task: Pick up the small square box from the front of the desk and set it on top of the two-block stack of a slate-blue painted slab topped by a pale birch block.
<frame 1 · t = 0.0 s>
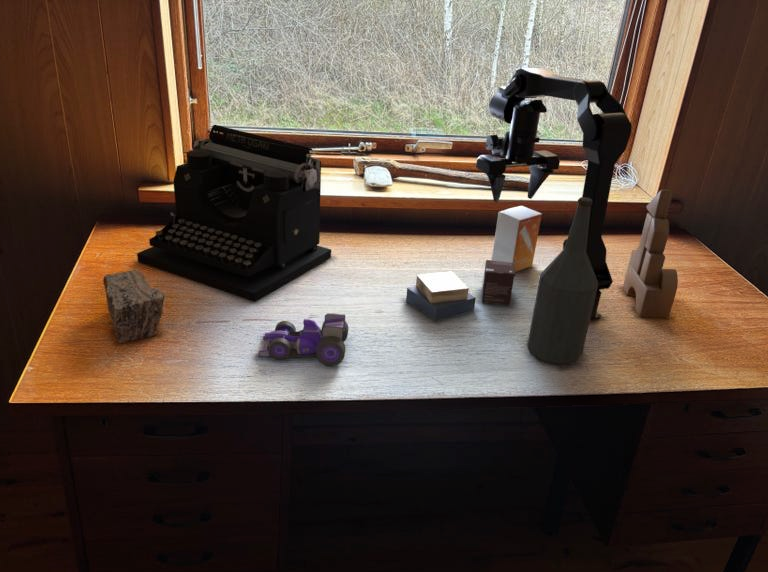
hand: (512, 200, 166), 15 cm above the table, tool pointing down, fingers open, 9 cm apart
toy race car: (304, 351, 132), on the table
stack top: (441, 292, 150), point 3 cm above the table, touching stack base
box: (495, 299, 157), on the table
wooden toy: (644, 301, 161), on the table
stone block: (137, 325, 135), on the table
bottle: (553, 353, 139), on the table
small box: (511, 266, 172), on the table
stack base: (439, 305, 151), on the table, touching stack top
typewriter: (237, 260, 162), on the table
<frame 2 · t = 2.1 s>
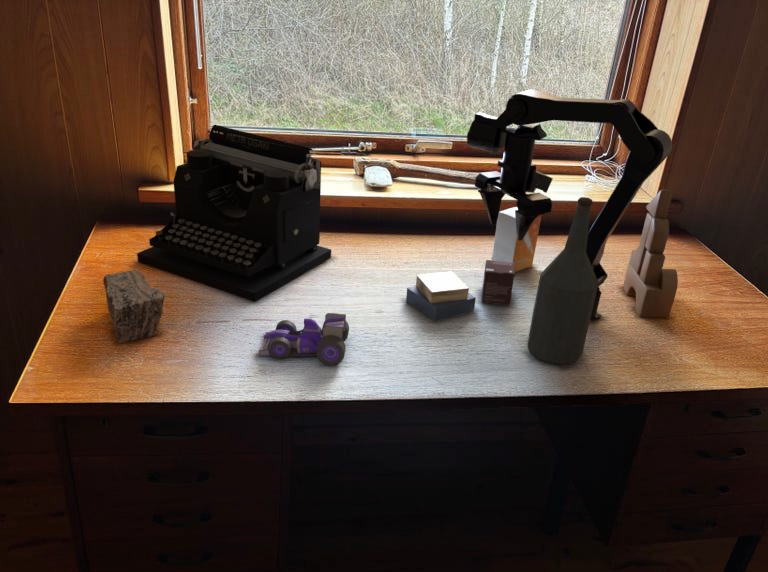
hand: (506, 232, 154), 13 cm above the table, tool pointing down, fingers open, 9 cm apart
nothing on the table moved.
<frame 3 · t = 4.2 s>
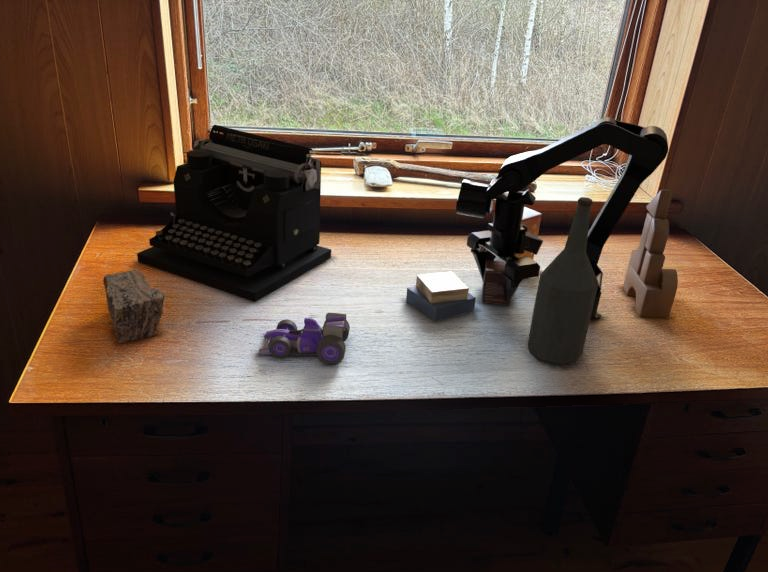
hand: (496, 291, 156), 2 cm above the table, tool pointing down, fingers closed on box, 8 cm apart
box: (495, 299, 157), on the table, touching gripper
everything else where it was.
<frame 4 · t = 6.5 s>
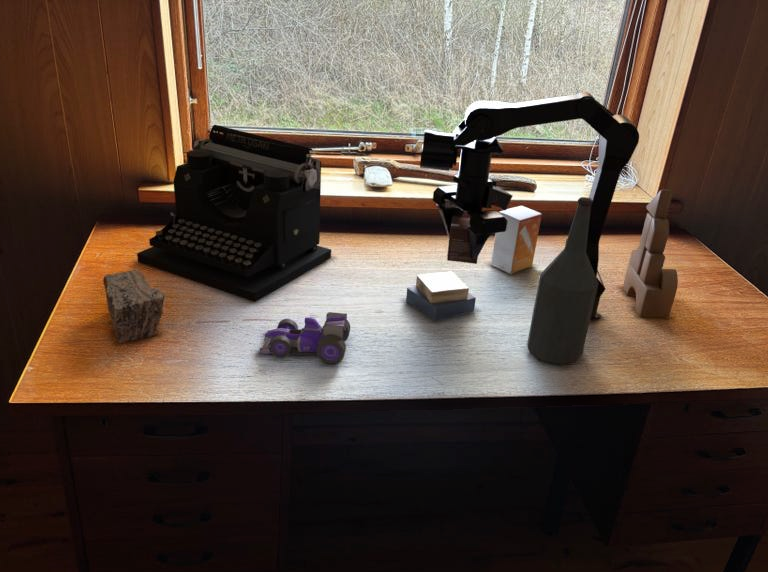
hand: (463, 250, 147), 12 cm above the table, tool pointing down, fingers closed on box, 8 cm apart
box: (462, 258, 148), point 10 cm above the table, touching gripper
everything else where it was.
when the fingers open (7 cm above the table, at t = 8.8 s): box stays where it is, resting on stack top.
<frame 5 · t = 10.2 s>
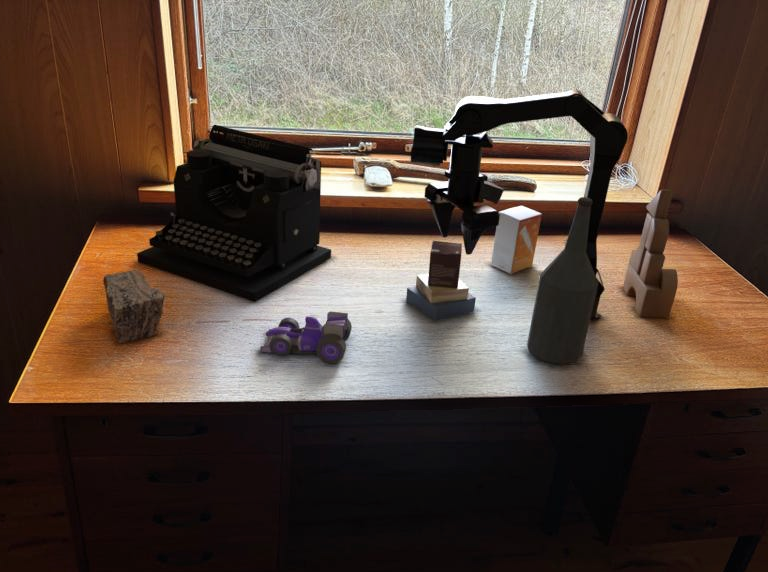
hand: (456, 245, 148), 12 cm above the table, tool pointing down, fingers open, 9 cm apart
stack top: (441, 292, 150), point 3 cm above the table, touching box, stack base
box: (443, 282, 149), point 5 cm above the table, touching stack top
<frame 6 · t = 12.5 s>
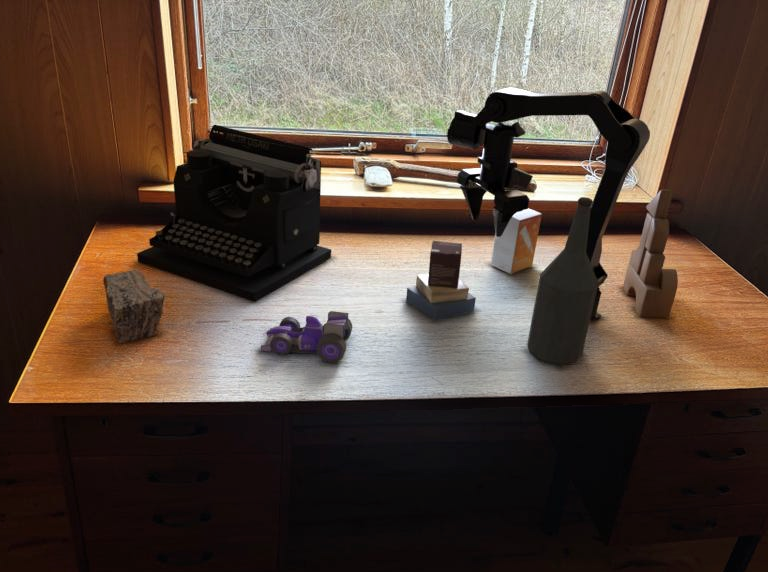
hand: (486, 228, 156), 13 cm above the table, tool pointing down, fingers open, 9 cm apart
at the end: box 0.1 cm from the stack top (horizontally); box point 5.3 cm above the table; box tilted 0° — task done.
